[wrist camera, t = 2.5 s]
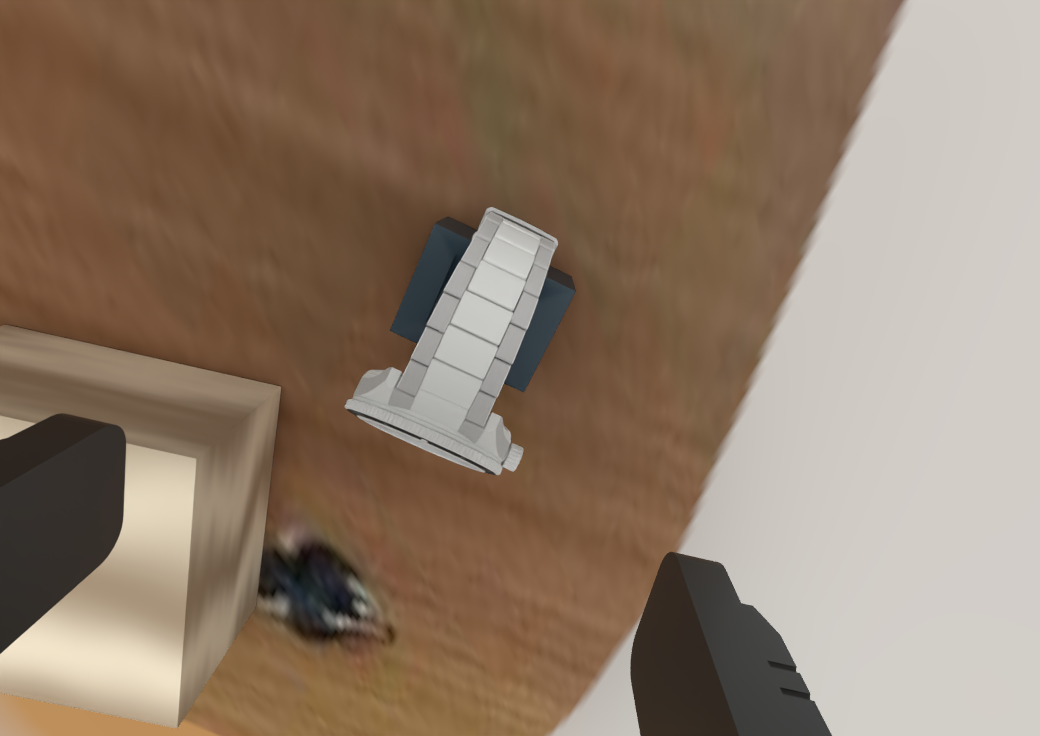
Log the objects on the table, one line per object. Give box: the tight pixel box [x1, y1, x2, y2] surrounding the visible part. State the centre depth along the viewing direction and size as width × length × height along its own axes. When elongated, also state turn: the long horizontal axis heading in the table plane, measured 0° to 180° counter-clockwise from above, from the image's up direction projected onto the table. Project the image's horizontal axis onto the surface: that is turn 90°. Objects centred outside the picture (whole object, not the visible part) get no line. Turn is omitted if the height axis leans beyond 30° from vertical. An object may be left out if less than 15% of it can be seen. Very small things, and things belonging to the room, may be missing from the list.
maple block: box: [0, 324, 281, 728], centre depth 25 cm, size 12×12×7 cm
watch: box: [345, 207, 576, 475], centre depth 20 cm, size 6×8×11 cm
